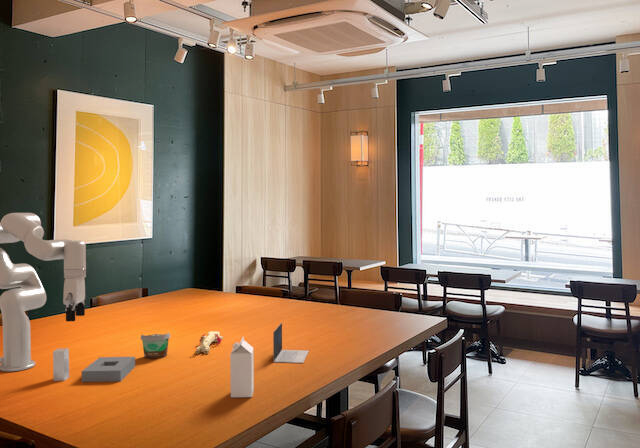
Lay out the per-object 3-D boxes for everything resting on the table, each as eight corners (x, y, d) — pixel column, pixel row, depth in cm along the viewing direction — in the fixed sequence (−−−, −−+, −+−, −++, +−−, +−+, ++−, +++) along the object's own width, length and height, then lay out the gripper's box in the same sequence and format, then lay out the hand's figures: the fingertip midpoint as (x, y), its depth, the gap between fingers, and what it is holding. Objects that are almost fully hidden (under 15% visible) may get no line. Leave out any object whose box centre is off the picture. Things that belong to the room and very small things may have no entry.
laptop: (303, 364, 214) (302, 332, 214) (273, 363, 216) (272, 332, 215) (308, 352, 232) (308, 323, 232) (281, 351, 234) (281, 322, 233)
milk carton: (253, 390, 183) (253, 336, 182) (251, 397, 176) (251, 341, 175) (233, 390, 183) (233, 336, 182) (230, 398, 176) (230, 341, 175)
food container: (139, 361, 218) (139, 337, 218) (140, 356, 224) (140, 333, 224) (170, 358, 221) (170, 335, 221) (170, 354, 227) (170, 331, 227)
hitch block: (81, 382, 192) (81, 371, 192) (99, 367, 210) (99, 357, 210) (120, 381, 193) (120, 370, 192) (135, 366, 210) (135, 356, 210)
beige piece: (213, 357, 228) (225, 338, 253) (212, 338, 227) (225, 320, 252) (190, 357, 229) (205, 338, 254) (190, 337, 228) (205, 320, 253)
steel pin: (53, 380, 193) (53, 351, 193) (58, 377, 197) (57, 348, 197) (64, 380, 193) (64, 351, 193) (69, 377, 197) (68, 348, 197)
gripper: (73, 270, 206) (73, 313, 206) (55, 276, 188) (55, 323, 189) (93, 270, 206) (93, 313, 207) (76, 276, 189) (77, 323, 190)
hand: (75, 318), depth 198 cm, fingers open, 9 cm apart
